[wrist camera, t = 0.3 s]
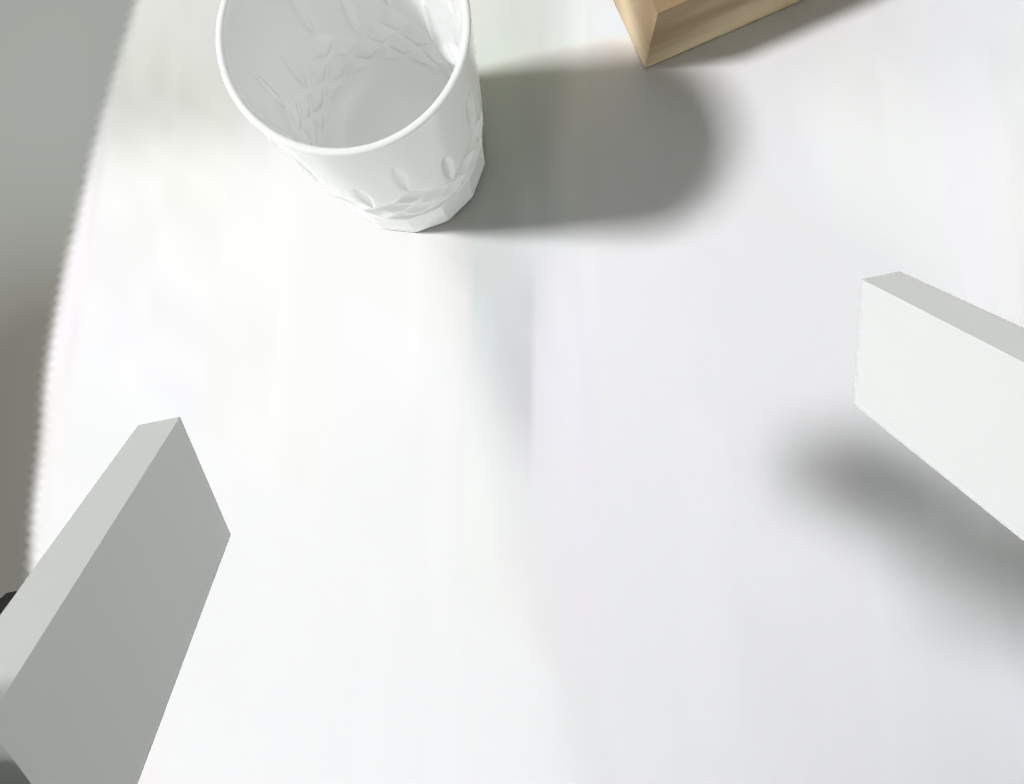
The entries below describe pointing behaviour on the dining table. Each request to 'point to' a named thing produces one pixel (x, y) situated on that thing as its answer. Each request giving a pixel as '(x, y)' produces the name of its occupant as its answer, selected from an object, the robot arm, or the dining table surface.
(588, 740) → the dining table surface
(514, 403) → the dining table surface
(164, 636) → the robot arm
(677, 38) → the tan square panel
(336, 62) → the white cup
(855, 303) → the dining table surface
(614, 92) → the dining table surface
